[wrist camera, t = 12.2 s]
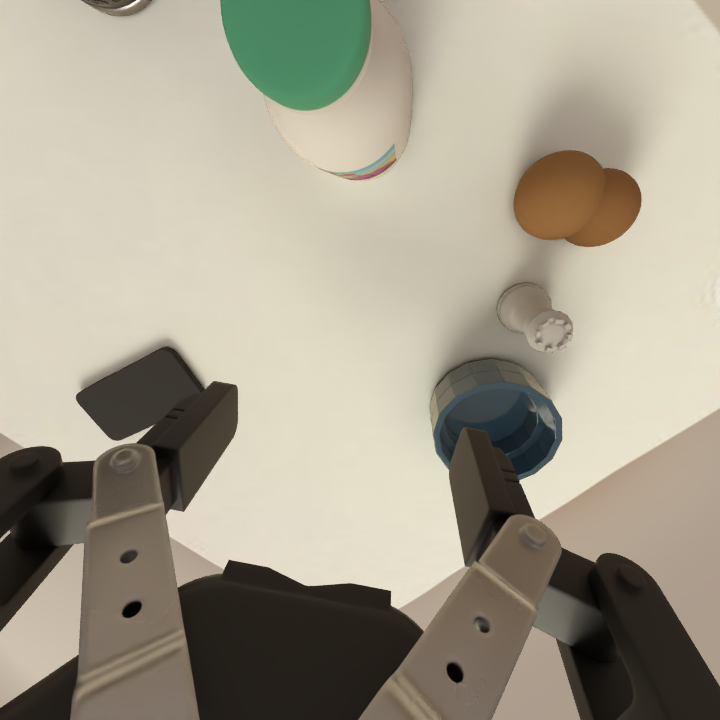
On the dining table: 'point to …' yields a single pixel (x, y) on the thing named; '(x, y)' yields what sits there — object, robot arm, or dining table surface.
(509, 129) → the dining table surface
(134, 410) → the phone
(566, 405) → the dining table surface
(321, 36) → the milk bottle
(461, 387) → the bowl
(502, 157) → the dining table surface
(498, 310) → the rook chess piece
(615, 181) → the potato
